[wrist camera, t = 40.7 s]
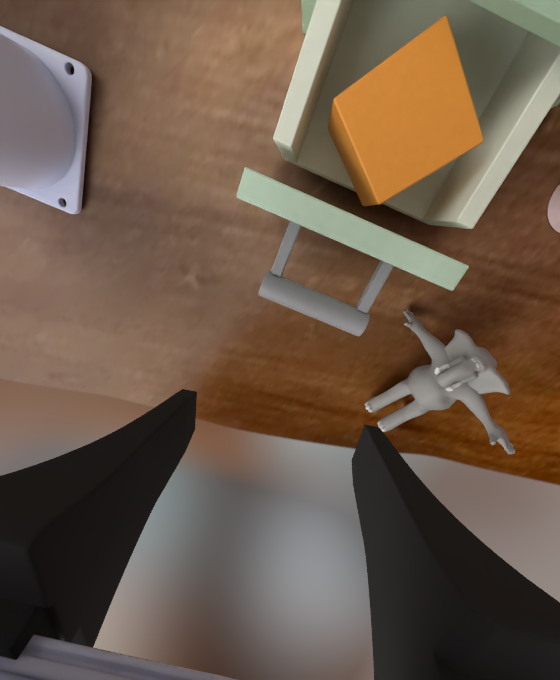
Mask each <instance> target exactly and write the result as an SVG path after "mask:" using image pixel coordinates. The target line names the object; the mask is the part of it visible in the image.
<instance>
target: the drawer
mask: <svg viewBox="0 0 560 680" xmlns="http://www.w3.org/2000/svg"><path fill="white" fill-rule="evenodd" d="M445 15H447V16H448V20H449V23H450V27H451V30H452V33H453V37H454V40H455V43H456V47H457V50H458V54H459V57H460V60H461V64H462V67H463V71H464V74H465V77H466V81H467V84H468V87H469V91H470V94H471V98H472V101H473V104H474V108H475V111H476V114H477V118H478V121H479V125H480V128H481V131H482V135H483V138H484V141H483V142H482V143H481V144H480V145H478V146H476V147H475V148H473V149H471V150H470V151H468V152H466V153H465V154H463V155H461V156H460V157H458V158H456V159H455V160H453V161H451V162H450V163H448V164H446V165H445V166H443V167H441V168H440V169H438V170H436V171H435V172H433V173H431V174H430V175H428V176H426V177H425V178H423V179H421V180H420V181H418V182H416V183H415V184H413V185H411V186H410V187H408V188H407V189H405V190H403V191H402V192H400V193H398V194H397V195H395V196H393V197H392V198H390V199H388V200H387V201H385V202H383V203H382V204H383V205H386V206H388V207H390V208H392V209H395V210H397V211H399V212H401V213H403V214H406V215H408V216H410V217H412V218H415V219H417V220H419V221H421V222H424V223H426V224H428V225H435V226H445V227H456V228H466V229H473V228H474V226H475V224H476V223H477V221H478V220H479V218H480V217H481V215H482V214H483V212H484V211H485V209H486V207H487V206H488V204H489V203H490V201H491V200H492V198H493V197H494V195H495V193H496V192H497V190H498V189H499V187H500V186H501V184H502V183H503V181H504V180H505V178H506V176H507V175H508V173H509V172H510V170H511V169H512V167H513V166H514V164H515V163H516V161H517V159H518V158H519V156H520V155H521V153H522V152H523V150H524V149H525V147H526V146H527V144H528V142H529V141H530V139H531V138H532V136H533V135H534V133H535V132H536V130H537V128H538V127H539V125H540V124H541V122H542V121H543V119H544V118H545V116H546V115H547V113H548V111H549V110H550V108H551V107H552V105H553V104H554V102H555V101H556V99H557V98H558V96H559V94H560V47H559V46H557V45H555V44H553V43H551V42H549V41H547V40H545V39H543V38H541V37H540V36H538V35H536V34H534V33H532V32H530V31H528V30H526V29H524V28H522V27H520V26H518V25H516V24H514V23H512V22H510V21H508V20H506V19H504V18H502V17H500V16H499V15H497V14H495V13H493V12H491V11H489V10H487V9H485V8H483V7H481V6H479V5H477V4H475V3H473V2H471V1H469V0H317V1H316V5H315V8H314V11H313V14H312V17H311V20H310V23H309V27H308V30H307V33H306V36H305V39H304V42H303V45H302V49H301V52H300V55H299V58H298V61H297V64H296V68H295V71H294V74H293V77H292V80H291V83H290V86H289V90H288V93H287V96H286V99H285V102H284V105H283V108H282V112H281V115H280V118H279V121H278V124H277V127H276V131H275V134H274V137H273V139H274V141H275V143H276V145H277V147H278V149H279V151H280V153H281V155H282V157H283V159H284V160H286V161H288V162H290V163H292V164H294V165H297V166H299V167H301V168H303V169H306V170H308V171H310V172H312V173H314V174H317V175H319V176H321V177H323V178H326V179H328V180H330V181H332V182H334V183H337V184H339V185H341V186H343V187H346V188H348V189H350V190H352V191H355V192H356V190H355V188H354V186H353V184H352V181H351V179H350V177H349V175H348V173H347V170H346V168H345V166H344V164H343V162H342V159H341V157H340V155H339V153H338V150H337V148H336V146H335V144H334V142H333V139H332V137H331V135H330V133H329V131H328V124H329V119H330V114H331V109H332V104H333V100H334V98H335V97H336V96H338V95H339V94H340V93H342V92H343V91H344V90H346V89H347V88H348V87H350V86H351V85H352V84H354V83H355V82H356V81H358V80H359V79H360V78H362V77H363V76H364V75H366V74H367V73H368V72H370V71H371V70H372V69H374V68H375V67H376V66H378V65H379V64H380V63H382V62H383V61H384V60H386V59H387V58H388V57H390V56H391V55H392V54H394V53H395V52H396V51H398V50H399V49H400V48H402V47H403V46H404V45H406V44H407V43H408V42H410V41H411V40H412V39H414V38H415V37H416V36H418V35H419V34H420V33H422V32H423V31H424V30H426V29H427V28H428V27H430V26H431V25H432V24H434V23H435V22H436V21H438V20H439V19H440V18H442V17H443V16H445ZM237 198H239V199H241V200H244V201H246V202H248V203H251V204H253V205H255V206H257V207H260V208H262V209H264V210H267V211H269V212H271V213H274V214H276V215H278V216H280V217H283V218H285V219H287V220H290V222H289V225H288V227H287V230H286V232H285V235H284V238H283V240H282V243H281V246H280V248H279V251H278V254H277V256H276V259H275V262H274V264H273V267H272V269H271V272H270V271H267V272H266V274H265V276H264V279H263V281H262V284H261V286H260V289H259V292H258V295H259V296H261V297H264V298H266V299H269V300H271V301H274V302H276V303H278V304H281V305H283V306H286V307H288V308H290V309H293V310H295V311H298V312H300V313H303V314H305V315H307V316H310V317H312V318H315V319H317V320H320V321H322V322H324V323H327V324H329V325H332V326H334V327H336V328H339V329H341V330H344V331H346V332H349V333H351V334H353V335H356V336H360V335H361V334H362V333H363V332H364V330H365V329H366V327H367V325H368V322H369V317H370V315H369V313H368V311H369V309H370V308H371V306H372V304H373V302H374V301H375V299H376V297H377V295H378V293H379V292H380V290H381V288H382V286H383V285H384V283H385V281H386V279H387V277H388V276H389V274H390V272H391V270H392V269H393V267H394V266H395V267H398V268H400V269H402V270H405V271H407V272H409V273H412V274H414V275H416V276H418V277H421V278H423V279H425V280H428V281H430V282H432V283H435V284H437V285H439V286H441V287H444V288H446V289H448V290H451V291H453V290H454V288H455V287H456V285H457V284H458V283H459V281H460V280H461V278H462V277H463V275H464V274H465V272H466V271H467V269H468V268H469V266H468V265H466V264H463V263H461V262H459V261H457V260H454V259H452V258H450V257H448V256H445V255H443V254H441V253H439V252H436V251H434V250H432V249H430V248H427V247H425V246H423V245H421V244H418V243H416V242H414V241H412V240H409V239H407V238H405V237H403V236H400V235H398V234H396V233H394V232H391V231H389V230H387V229H384V228H382V227H380V226H378V225H375V224H373V223H371V222H369V221H366V220H364V219H362V218H360V217H357V216H355V215H353V214H351V213H348V212H346V211H344V210H342V209H339V208H337V207H335V206H333V205H330V204H328V203H326V202H324V201H321V200H319V199H317V198H315V197H312V196H310V195H308V194H306V193H303V192H301V191H299V190H297V189H294V188H292V187H290V186H287V185H285V184H283V183H281V182H278V181H276V180H274V179H272V178H269V177H267V176H265V175H263V174H260V173H258V172H256V171H254V170H251V169H249V168H247V167H245V168H244V172H243V175H242V178H241V182H240V185H239V189H238V192H237ZM301 226H303V227H306V228H308V229H310V230H313V231H315V232H317V233H320V234H322V235H324V236H326V237H329V238H331V239H333V240H336V241H338V242H340V243H343V244H345V245H347V246H349V247H352V248H354V249H356V250H359V251H361V252H363V253H366V254H368V255H370V256H372V257H375V258H377V259H379V260H380V262H379V264H378V266H377V268H376V270H375V272H374V273H373V275H372V277H371V279H370V281H369V283H368V285H367V286H366V288H365V290H364V292H363V294H362V296H361V298H360V299H359V301H358V303H357V305H356V308H355V307H353V306H351V305H348V304H346V303H343V302H341V301H339V300H336V299H334V298H332V297H329V296H327V295H324V294H322V293H320V292H317V291H315V290H312V289H310V288H308V287H305V286H303V285H301V284H298V283H296V282H293V281H291V280H289V279H286V278H284V277H282V273H283V271H284V268H285V266H286V263H287V261H288V258H289V256H290V253H291V251H292V248H293V246H294V243H295V241H296V238H297V236H298V233H299V231H300V228H301Z"/></svg>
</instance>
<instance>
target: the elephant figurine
mask: <svg viewBox="0 0 560 680" xmlns="http://www.w3.org/2000/svg"><path fill="white" fill-rule="evenodd" d="M403 313H404V314H405V316H406V317H407V318H408V320H409V322H405V323H404V325H405V326H407V327H409V328H410V329H411V330H412V331H413V332H415V333H416V334H417V336H418V337H419V338H420V340H421V342H422V344H423V346H424V348H425V350H426V351H427V352H428V354H429V355H430V357H431V359H432V364H430V365H424V366H419V367H417V368H415V369H414V370H412V371H411V373H410V375H409V377H408V378H407V379H405V380H403V381H401V382H399V383H398V384H396V385H395V386H393V387H392V388H390V389H389V390H387V391H386V392H384V393H382V394H380V395H378V396H375V397H373V398H371V399H369V400H368V401H367V402H366V403H365V406H366V409H367V410H368V411H369V412H376V411H378V410H379V409H381V408H383V407H385V406H387V405H389V404H391V403H393V402H394V401H396V400H398V399H401V398H403V397H405V396H407V395H410V394H412V395H413V396H414V398H415V400H414V401H413V402H411V403H409V404H408V405H406V406H404V407H402V408H401V409H399V410H397V411H395V412H393V413H391V414H389V415H387V416H385V417H383V418H381V419H380V420H379V421H378V425H379V426H378V427H379V428H380V429H381V430H382V431H383V432H387V431H389V430H391V429H393V428H395V427H396V426H398V425H400V424H401V423H403V422H405V421H407V420H410V419H412V418H415V417H418V416H420V415H423V414H424V413H426V412H428V411H429V410H444V409H447V408H449V407H450V406H451V405H452V404H453V403H454V402H455V401H456V400H461V401H462V402H463V403H464V404H465V405H466V406H467V407H468V408H469V409H470V410H471V411H472V412H473V413H474V414H475V415H476V416H477V417H478V418H479V420H480V421H481V422H482V423H483V425H484V426H485V428H486V430H487V433H488V435H489V439H490V444H491V445H495V444H496V441H498V442H499V443H500V444H501V445H502V446H503V447H504V449H505V451H506V452H507V454H514V453H515V452H514V451H515V449H514V448H513V444H512V443H510V441H509V438H508V436H507V434H506V432H505V430H504V429H503V428H502V427H500V426H498V425H497V424H495V423H494V422H493V420H492V419H491V417H490V415H489V412H488V410H487V407H486V404H485V402H484V400H483V397H482V395H481V394H484V393H491V392H501V393H504V394H508V395H509V394H510V388H509V386H508V383H507V381H506V380H505V379H504V378H503V377H502V376H501V375H500V374H499V373H498V372H497V370H496V369H495V368H496V367H497V365H498V363H497V361H496V360H495V358H494V357H493V356H492V355H491V353H490V352H489V351H487V350H486V349H485V348H483V347H480V348H479V347H478V346H477V345H476V344H475V343H474V342H473V340H472V339H471V337H470V336H469V335H468V334H467V333H466V332H464V331H462V330H459V329H456V330H455V336H454V338H453V339H452V340H451V341H450V343H449V344H448V345H447V346H445V345H444V344H443V343H442V342H441V341H440V340H438V339H437V338H436V337H434V336H433V335H431V334H430V333H429V332H427V330H426V329H425V328H424V327H423V324H422V321H421V320H420V319H419V318H417V317H416V316H414V315H413V313H412V312H410V310H405V311H404V312H403Z"/></svg>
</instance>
